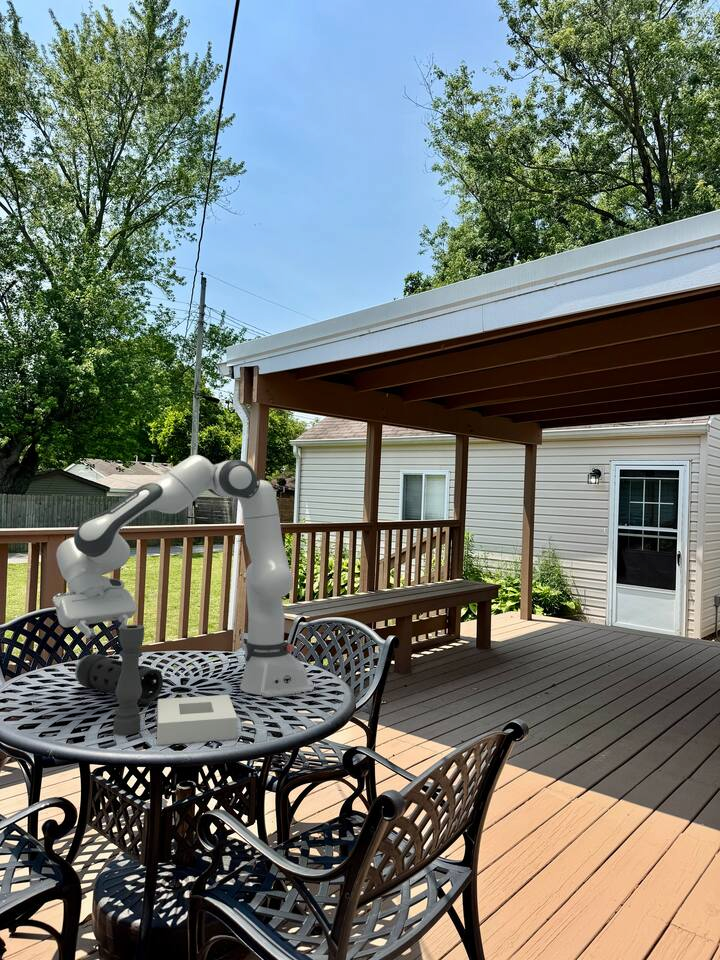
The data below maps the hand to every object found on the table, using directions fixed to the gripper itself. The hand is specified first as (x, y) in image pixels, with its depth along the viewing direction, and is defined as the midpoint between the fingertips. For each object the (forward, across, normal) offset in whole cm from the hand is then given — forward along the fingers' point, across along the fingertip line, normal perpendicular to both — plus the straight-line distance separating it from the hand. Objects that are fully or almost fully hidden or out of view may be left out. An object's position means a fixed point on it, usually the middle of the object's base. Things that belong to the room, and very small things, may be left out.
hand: (108, 633), depth 156 cm
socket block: (+30, +12, +1) cm, 32 cm away
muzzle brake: (+5, +13, +26) cm, 30 cm away
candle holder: (+23, 0, +9) cm, 24 cm away
